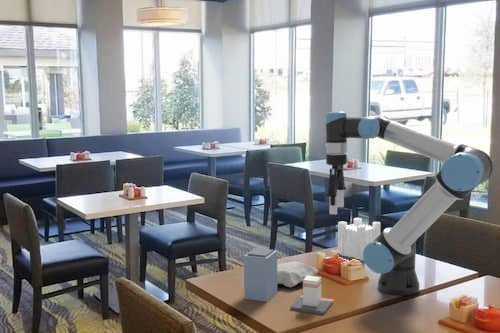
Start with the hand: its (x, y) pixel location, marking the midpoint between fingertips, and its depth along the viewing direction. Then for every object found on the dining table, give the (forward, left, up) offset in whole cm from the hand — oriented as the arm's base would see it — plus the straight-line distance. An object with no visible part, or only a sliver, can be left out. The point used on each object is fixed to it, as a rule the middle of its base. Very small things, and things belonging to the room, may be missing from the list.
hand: (336, 210), depth 216 cm
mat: (+3, +21, -30) cm, 37 cm away
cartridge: (+3, +21, -29) cm, 36 cm away
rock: (+19, 0, -31) cm, 36 cm away
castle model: (+2, -48, -30) cm, 57 cm away
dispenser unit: (+24, +18, -30) cm, 42 cm away
